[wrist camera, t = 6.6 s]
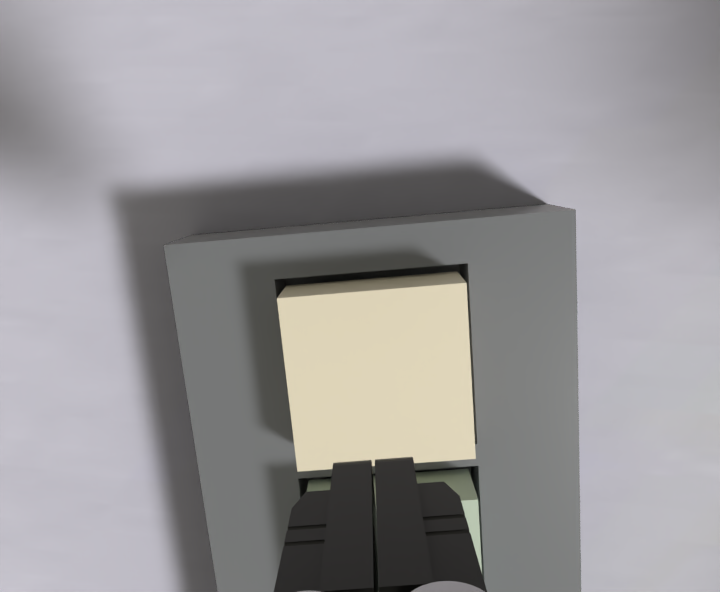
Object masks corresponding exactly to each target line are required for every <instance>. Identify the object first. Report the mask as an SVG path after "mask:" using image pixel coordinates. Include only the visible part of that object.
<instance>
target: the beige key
mask: <svg viewBox="0 0 720 592" xmlns="http://www.w3.org/2000/svg"><path fill="white" fill-rule="evenodd" d="M277 304H278V313H279V321H280V330H281V338H282V346H283V355H284V363H285V371H286V380H287V388H288V397H289V405H290V413H291V422H292V430H293V438H294V447H295V455H296V464H297V472H299V471H313V470H327V469H332V468H333V463H337V462H350V461H363V460H372V466H375V459H388V458H402V457H413V461H414V463H425V462H439V461H453V460H467V459H476V453H475V434H474V415H473V396H472V377H471V358H470V339H469V320H468V301H467V283H466V281H465V280H464V279H463V278H462V277H461V275H460V274H459V273H458V272H457V271H455V272H443V273H431V274H419V275H407V276H395V277H383V278H371V279H359V280H347V281H335V282H323V283H311V284H299V285H287V286H286V287H285V288H284V289H283V291H282V292H281V293H280V295H279V296H278V297H277Z"/></svg>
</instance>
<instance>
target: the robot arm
mask: <svg viewBox="0 0 720 592" xmlns="http://www.w3.org/2000/svg"><path fill="white" fill-rule="evenodd" d="M375 485H376V502H375V490H374V479H373V468H372V460H363V461H350V462H337V463H333V468H332V477H331V486H330V490H323V491H309V492H306V493H305V494H304V495H303V496H302V497H301V498H300V499H299V501H298V502H297V503H296V504H295V505H294V506H293V507H292V509H291V514H290V518H289V523H288V530H287V532H286V537H285V541H284V546H283V551H282V555H281V560H280V565H279V569H278V574H277V579H276V583H275V588H274V592H487V590H486V586H485V583H484V579H483V576H482V572H481V569H480V565H479V562H478V558H477V555H476V551H475V548H474V544H473V541H472V537H471V534H470V532H469V527H468V523H467V520H466V518H465V513H464V509H463V506H462V502H461V499H460V496H459V495H458V494H457V493H456V492H455V491H454V490H453V489H452V488H450V487H449V486H448V485H447V484H446V483H445V482H444V481H443V482H430V483H417V479H416V473H415V467H414V461H413V457H402V458H388V459H375Z"/></svg>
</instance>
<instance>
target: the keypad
mask: <svg viewBox="0 0 720 592" xmlns="http://www.w3.org/2000/svg"><path fill="white" fill-rule="evenodd" d="M163 246H164V252H165V259H166V265H167V271H168V278H169V284H170V291H171V297H172V303H173V310H174V316H175V323H176V329H177V335H178V342H179V348H180V355H181V361H182V368H183V374H184V380H185V387H186V393H187V400H188V406H189V412H190V419H191V425H192V432H193V438H194V444H195V451H196V457H197V464H198V470H199V476H200V483H201V489H202V496H203V502H204V509H205V515H206V521H207V528H208V534H209V541H210V547H211V553H212V560H213V566H214V573H215V579H216V585H217V592H274V588H275V583H276V579H277V574H278V569H279V565H280V560H281V555H282V551H283V546H284V541H285V537H286V532H287V530H288V523H289V518H290V514H291V509H292V507H293V506H294V505H295V504H296V503H297V502H298V501H299V499H300V498H301V497H302V496H303V495H304V494H305V493H306V492H307V487H308V482H309V480H316V479H330V478H331V477H332V469H327V470H313V471H299V472H297V464H296V455H295V447H294V438H293V430H292V422H291V413H290V405H289V397H288V388H287V380H286V371H285V363H284V355H283V346H282V338H281V330H280V321H279V313H278V304H277V297H278V296H279V295H280V293H281V292H282V291H283V289H284V288H285V287H286V286H287V285H299V284H311V283H323V282H335V281H347V280H359V279H371V278H383V277H395V276H407V275H419V274H431V273H443V272H455V271H457V272H458V273H459V274H460V275H461V277H462V278H463V279H464V280H465V281H466V283H467V301H468V320H469V339H470V358H471V377H472V396H473V415H474V434H475V453H476V459H467V460H453V461H439V462H425V463H414V467H415V472H428V471H442V470H456V469H469V472H470V476H471V479H472V482H473V485H474V488H475V491H476V494H477V497H478V506H479V525H480V544H481V563H482V576H483V579H484V583H485V586H486V590H487V592H581V553H580V484H579V414H578V345H577V276H576V210H575V209H570V208H565V207H560V206H555V205H550V204H543V205H531V206H520V207H508V208H497V209H485V210H474V211H462V212H451V213H439V214H428V215H416V216H405V217H393V218H382V219H370V220H359V221H347V222H336V223H324V224H313V225H301V226H290V227H278V228H267V229H255V230H244V231H232V232H221V233H209V234H198V235H190V236H187V237H185V238H182V239H179V240H176V241H174V242H171V243H168V244H166V245H163ZM372 468H373V475H375V466H372Z"/></svg>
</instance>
